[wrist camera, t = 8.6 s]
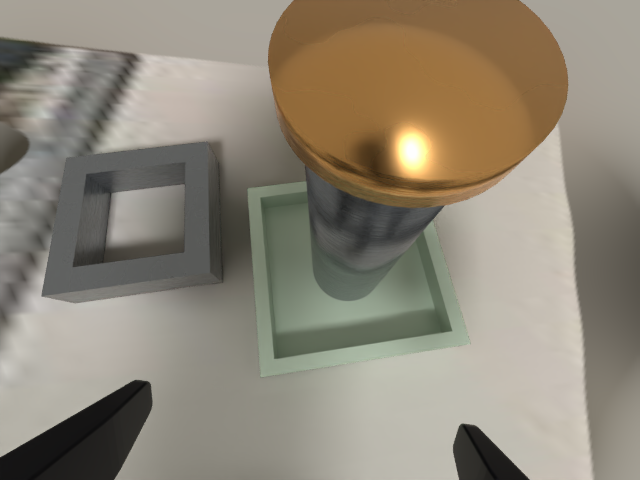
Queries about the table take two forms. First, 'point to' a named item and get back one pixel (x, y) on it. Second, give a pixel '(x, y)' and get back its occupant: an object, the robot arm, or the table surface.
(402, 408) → the table surface
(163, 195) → the table surface
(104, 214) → the frame
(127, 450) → the robot arm
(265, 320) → the tray
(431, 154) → the grey and gold cylinder
